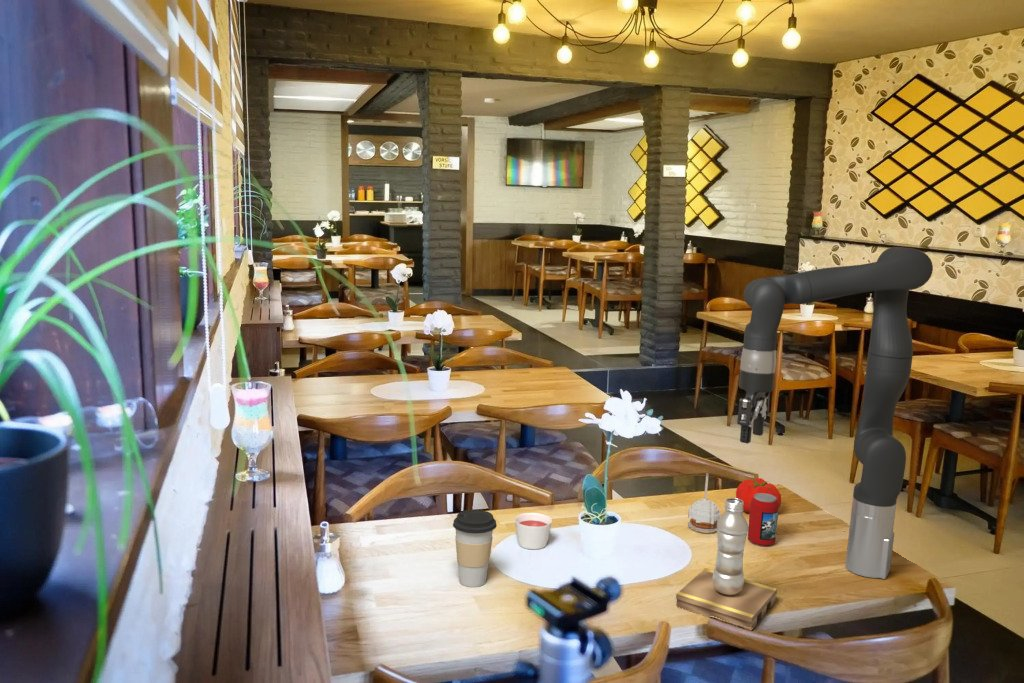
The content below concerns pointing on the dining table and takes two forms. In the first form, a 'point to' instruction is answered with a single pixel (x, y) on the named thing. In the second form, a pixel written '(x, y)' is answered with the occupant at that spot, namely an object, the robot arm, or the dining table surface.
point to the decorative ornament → (704, 514)
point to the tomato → (755, 491)
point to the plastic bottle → (730, 549)
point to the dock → (726, 600)
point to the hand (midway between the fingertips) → (751, 438)
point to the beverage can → (763, 519)
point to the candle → (532, 530)
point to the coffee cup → (473, 545)
